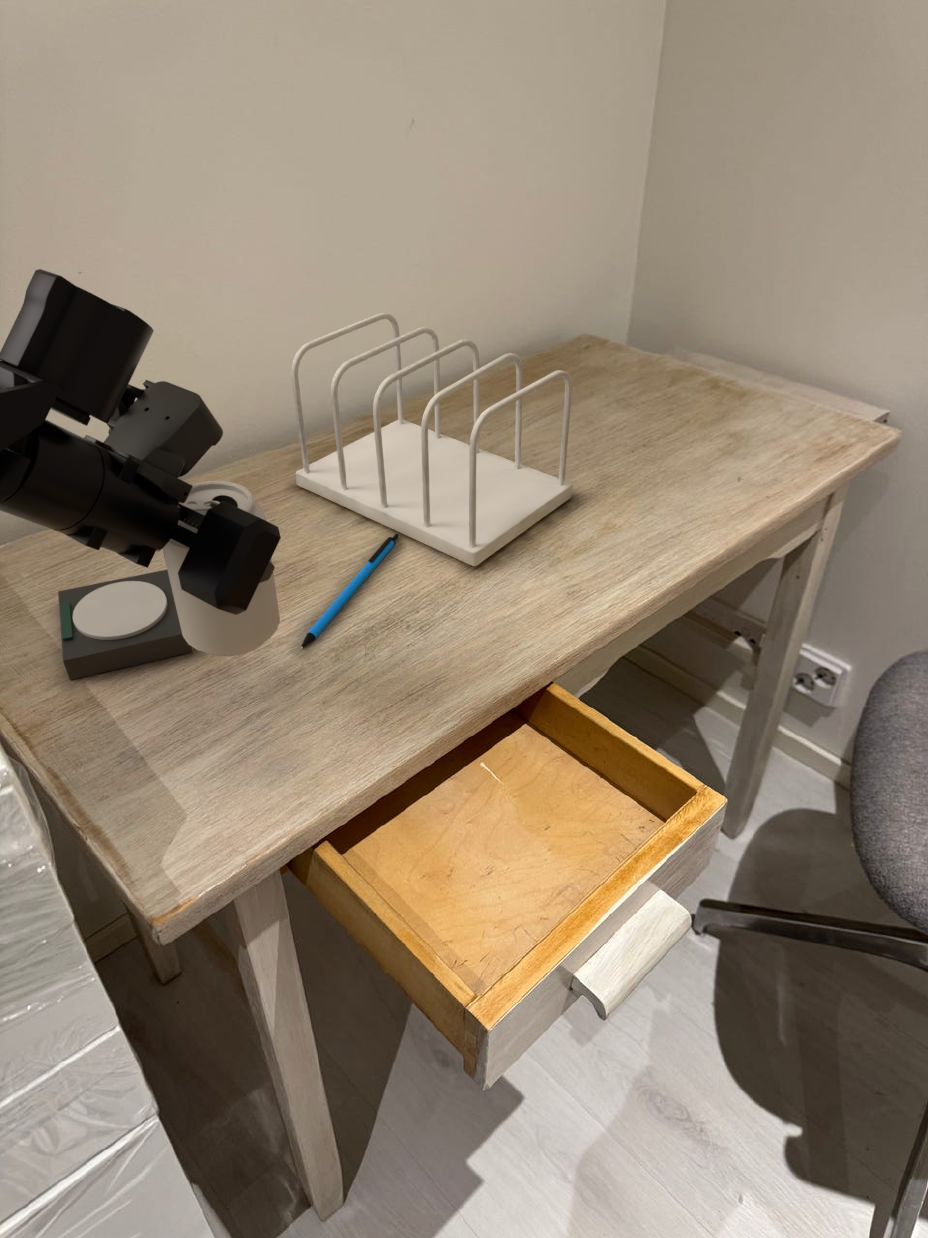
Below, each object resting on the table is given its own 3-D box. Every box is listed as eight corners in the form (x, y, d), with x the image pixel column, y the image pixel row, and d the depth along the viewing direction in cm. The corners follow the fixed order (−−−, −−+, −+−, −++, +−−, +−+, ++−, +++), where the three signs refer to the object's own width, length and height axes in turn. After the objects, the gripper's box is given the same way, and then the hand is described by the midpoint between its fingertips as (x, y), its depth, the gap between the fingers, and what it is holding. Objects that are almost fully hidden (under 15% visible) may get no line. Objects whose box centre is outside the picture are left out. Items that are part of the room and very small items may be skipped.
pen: (401, 539, 91) (400, 530, 90) (306, 653, 77) (304, 643, 76) (393, 538, 91) (392, 528, 90) (297, 651, 77) (295, 641, 77)
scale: (69, 680, 74) (61, 656, 72) (64, 610, 81) (56, 587, 79) (192, 652, 77) (187, 628, 75) (177, 586, 84) (171, 564, 82)
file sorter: (572, 499, 97) (586, 361, 87) (474, 571, 86) (477, 424, 76) (400, 430, 109) (395, 302, 99) (295, 487, 98) (278, 350, 88)
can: (293, 647, 69) (275, 514, 61) (195, 674, 66) (164, 538, 59) (266, 594, 74) (247, 465, 67) (174, 617, 71) (144, 486, 64)
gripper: (236, 403, 49) (375, 496, 63) (34, 326, 57) (196, 423, 71) (148, 587, 49) (307, 639, 63) (-42, 482, 57) (136, 549, 71)
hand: (234, 554), depth 67 cm, fingers closed on can, 7 cm apart
